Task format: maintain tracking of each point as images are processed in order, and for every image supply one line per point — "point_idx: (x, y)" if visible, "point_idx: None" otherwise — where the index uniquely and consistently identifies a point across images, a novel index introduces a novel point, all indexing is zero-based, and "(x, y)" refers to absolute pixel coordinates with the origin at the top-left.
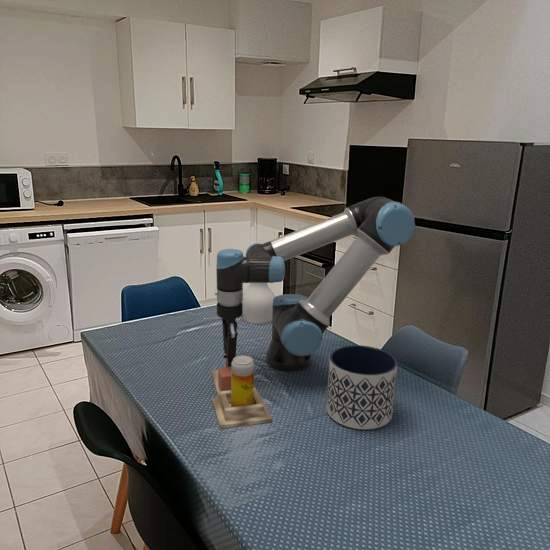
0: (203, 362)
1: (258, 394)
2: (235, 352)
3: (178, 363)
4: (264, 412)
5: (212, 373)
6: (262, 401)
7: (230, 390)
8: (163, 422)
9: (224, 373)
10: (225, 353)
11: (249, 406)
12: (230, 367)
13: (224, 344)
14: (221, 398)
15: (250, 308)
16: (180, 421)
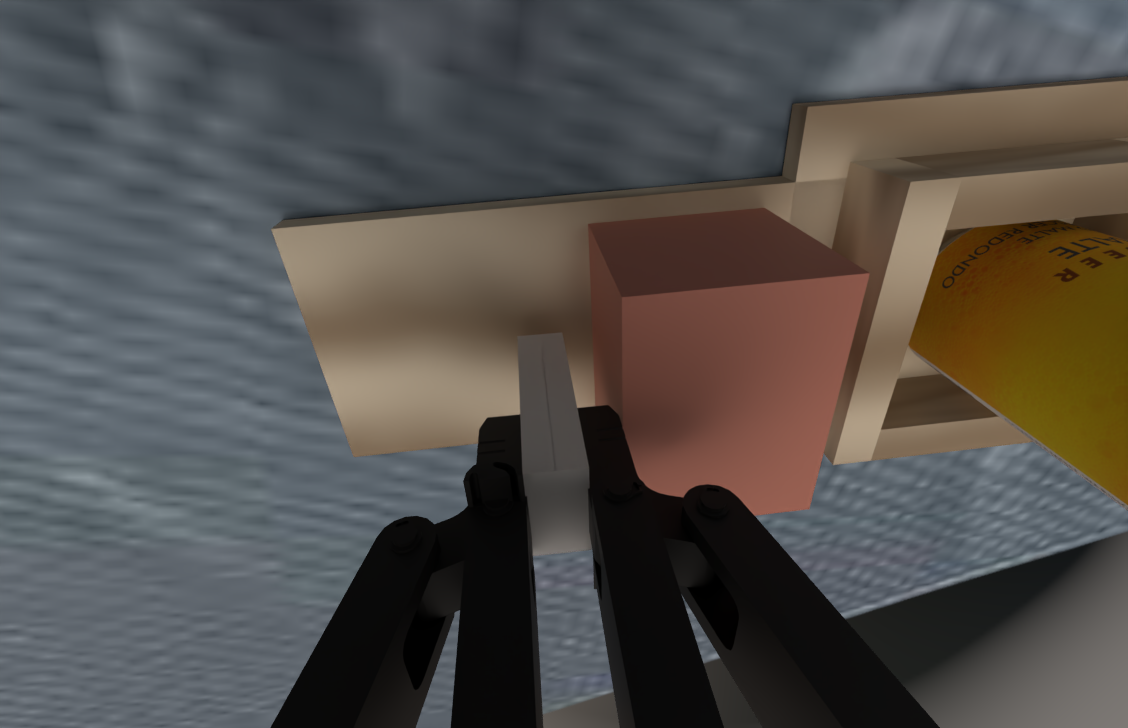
0: (171, 483)
1: (829, 121)
2: (796, 570)
3: (222, 601)
4: (1115, 119)
5: (401, 447)
6: (956, 104)
7: (857, 393)
8: (835, 602)
9: (755, 488)
10: (532, 567)
11: None
12: (649, 440)
13: (434, 664)
14: (932, 451)
15: None
16: (861, 554)
